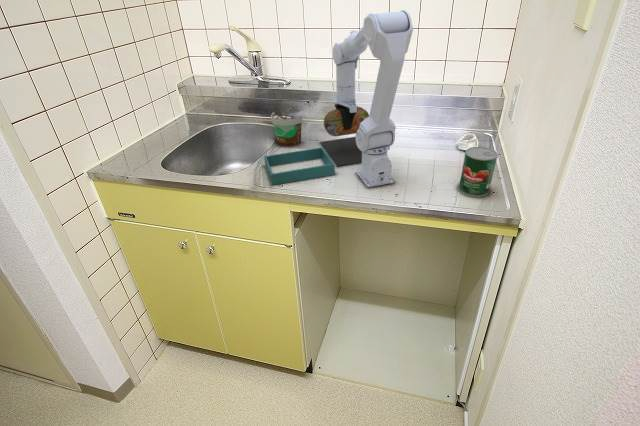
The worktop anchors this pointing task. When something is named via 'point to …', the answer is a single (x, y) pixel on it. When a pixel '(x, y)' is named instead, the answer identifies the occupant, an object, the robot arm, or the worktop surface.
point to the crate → (299, 173)
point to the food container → (287, 129)
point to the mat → (343, 151)
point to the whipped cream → (467, 142)
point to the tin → (335, 122)
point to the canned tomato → (477, 171)
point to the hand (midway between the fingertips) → (345, 127)
